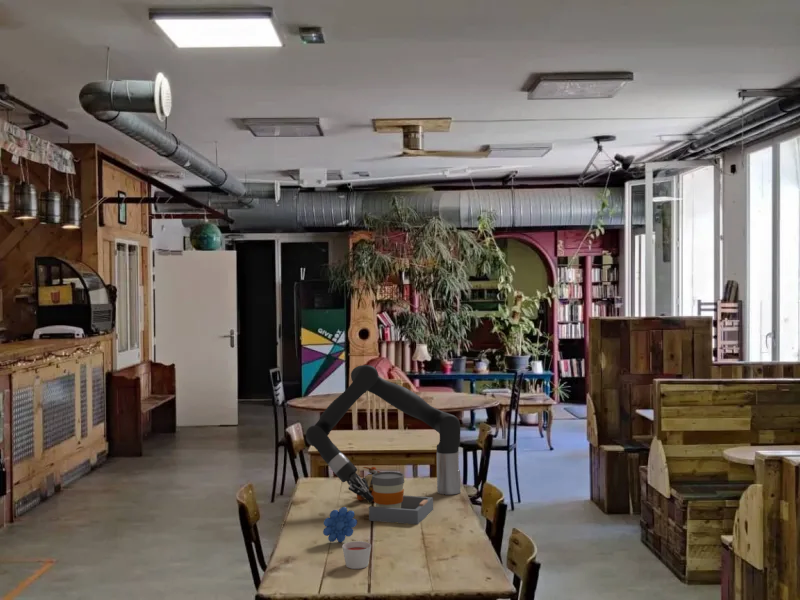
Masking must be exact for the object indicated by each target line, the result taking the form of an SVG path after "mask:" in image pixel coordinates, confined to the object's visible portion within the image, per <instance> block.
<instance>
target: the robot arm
mask: <svg viewBox="0 0 800 600" xmlns="http://www.w3.org/2000/svg"><path fill="white" fill-rule="evenodd" d="M350 380H351V383H350V385H349V386H348V387H347V388H346V389H345V390H343V392H342V393H341V394H340V395H338V396H337V397H336V398H335V399H334V400H333V401H332V402H331V403H330V404H329V405H328V406H327V407H326V408H325V410H324V411H323V412H322V413H321V414H320V417H319V419H318V420H317V422H316V423H315V424H314V425H312V426H309V427H308V428H307V429H306V432H305V438H306V439H305V440H306V443H307V444H308V445H310V446H312V447H314V449H316V451H317V452H318V453H319V454H320V457H321V459H322V460H323V461H324V462H325V463H326V464H327V465H328V466H329V468H330V470H331V471H332V472H333V474H335V476H337V478H338V479H339V480H340V481H341V482H342V483H347V484H348V485H349V486H348V487H347V488H348V490H349V491H351V492H352V493H354V494H356V496H357V495H359V496H360V495H362V496H364V497H365V498H364V499H365V500H366V501H367V502H368V503H372V502H373V500H374V497H373V496H372V495H371V494H370V493H369V492H368V491H369V490H368V489H369V486H368V484H367V482H366V479H365V477H362V478H361V476H360V475H359V474H357V471H358V468H357V467H356V466H355V465H354V464H353V463H352V461H351V460H350V459H349V458H348V456H346V455H345V453H343V452H342V451H341V450H340V449H339V448H338V447H337V446H336V444H335V443H333V442H332V440H331V439H330V437H329V434H330V432H331V431H332V430H333V429H334V427H335V426H336V425H337V424H338V423H339V421H340V420H341V419H342V418H343V417H344V415H345V414H346V413H347V412H348V411H349V410H350V408H352V406H353V405H354V404H355V403H356V402H357V401H358V400H359V399H360V398H361V397H362V396H363V395H364V394H365V393H366V392H369V393H371V394H374V395H375V396H377V397H378V398H380V399H381V400H383V401H384V402H386V403H387V404H388V405H390V406H393V407H394V408H396V409H397V410H398V411H400V412H402V413H403V414H406V415H408V416H410V417H411V418H412V417H413V418H415V419H417V420H420V421H422V422H423V423H425V424H426V425H428V426H429V427H431V428H432V429H433V430H434V431H436V432H437V433H438V434H439V441H438V444H437V445H436V485H437V486H436V489H437V494H440V495H444V494H445V495H447V496H449V495H450V496H452V495H457V494H461V493H462V492H461V490H462V489H461V470H460V469H459V468H460V466H459V463H460V461H459V459H460V458H459V453H460V452H459V447H460V446H461V422H460V420H459V418H458V417H457V416H455V415H454V414H451V413H448V412H445V411H443V410H440V409H438V408H436V407H434V406H432V405H430V404H429V403H428V402H427V401H425V400H424V398H422V397H421V396H420V395H418V394H417V393H415V391H411V389H408V388H407V387H404V386H403V385H400V384H398V383H396V382H395V383H394V382H391V381H389V380H386V379H384V378H382V377H381V376H379V373H378V370H377V369H376V367H375V366H373V365H369V364H363V365H361V364H360V365H357V366H356V367H354V368H353V369H352V371H351V373H350Z"/></svg>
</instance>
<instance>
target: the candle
mask: <svg viewBox="0 0 800 600" xmlns="http://www.w3.org/2000/svg"><path fill="white" fill-rule="evenodd" d="M341 548H342V552H343V557H344V562H345V563H344V564H345V567H347V568H348V569H352V570H360V569H364V568H367V567H368V565H369V562H370V557H371V556H370V555H371V549H372V544H371V543H369V542H367V541H362V540H361V541H360V540H359V541H358V540H357V541H356V540H354V541H347V542H345V543H343V544H342V547H341Z"/></svg>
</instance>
